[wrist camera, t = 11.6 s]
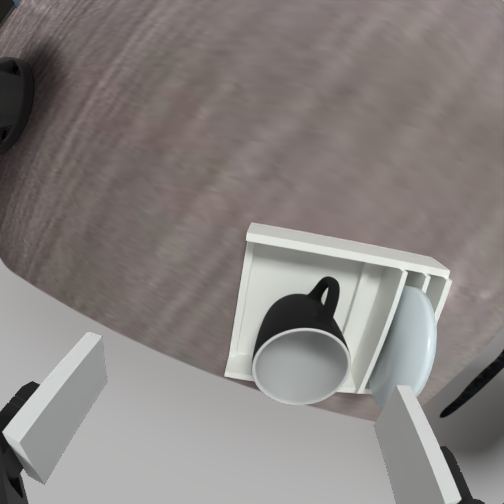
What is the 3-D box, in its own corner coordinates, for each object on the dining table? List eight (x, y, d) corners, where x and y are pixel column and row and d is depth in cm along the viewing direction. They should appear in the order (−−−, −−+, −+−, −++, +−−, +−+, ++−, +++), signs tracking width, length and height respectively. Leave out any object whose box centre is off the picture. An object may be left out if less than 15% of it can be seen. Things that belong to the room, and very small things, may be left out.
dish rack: (230, 352, 39) (223, 381, 34) (251, 222, 34) (246, 234, 29) (388, 372, 39) (400, 400, 33) (431, 257, 34) (454, 273, 28)
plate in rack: (360, 362, 37) (385, 435, 25) (392, 268, 34) (443, 321, 21) (368, 363, 37) (395, 435, 25) (401, 270, 34) (454, 323, 21)
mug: (312, 359, 38) (320, 415, 28) (246, 334, 37) (236, 388, 27) (361, 277, 34) (388, 319, 24) (289, 245, 34) (294, 279, 24)
